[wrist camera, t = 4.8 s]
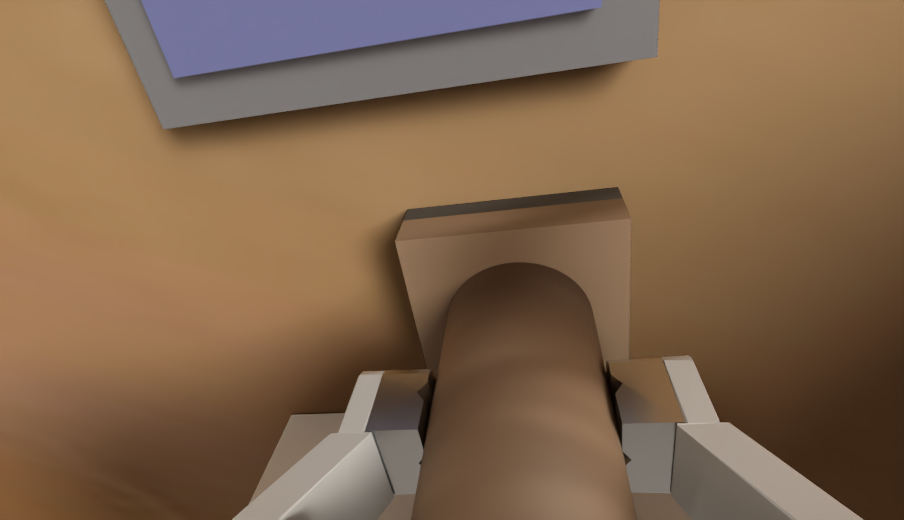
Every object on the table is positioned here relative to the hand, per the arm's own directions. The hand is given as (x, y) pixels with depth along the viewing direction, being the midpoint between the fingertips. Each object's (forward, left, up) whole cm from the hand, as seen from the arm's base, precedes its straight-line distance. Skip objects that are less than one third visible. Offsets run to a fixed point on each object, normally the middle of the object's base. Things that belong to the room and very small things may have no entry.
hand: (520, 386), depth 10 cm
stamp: (0, 0, -4) cm, 4 cm away
